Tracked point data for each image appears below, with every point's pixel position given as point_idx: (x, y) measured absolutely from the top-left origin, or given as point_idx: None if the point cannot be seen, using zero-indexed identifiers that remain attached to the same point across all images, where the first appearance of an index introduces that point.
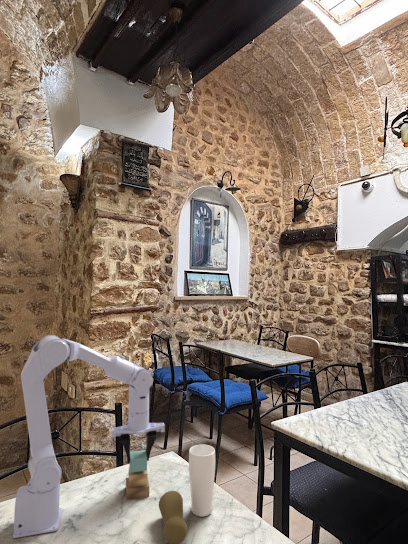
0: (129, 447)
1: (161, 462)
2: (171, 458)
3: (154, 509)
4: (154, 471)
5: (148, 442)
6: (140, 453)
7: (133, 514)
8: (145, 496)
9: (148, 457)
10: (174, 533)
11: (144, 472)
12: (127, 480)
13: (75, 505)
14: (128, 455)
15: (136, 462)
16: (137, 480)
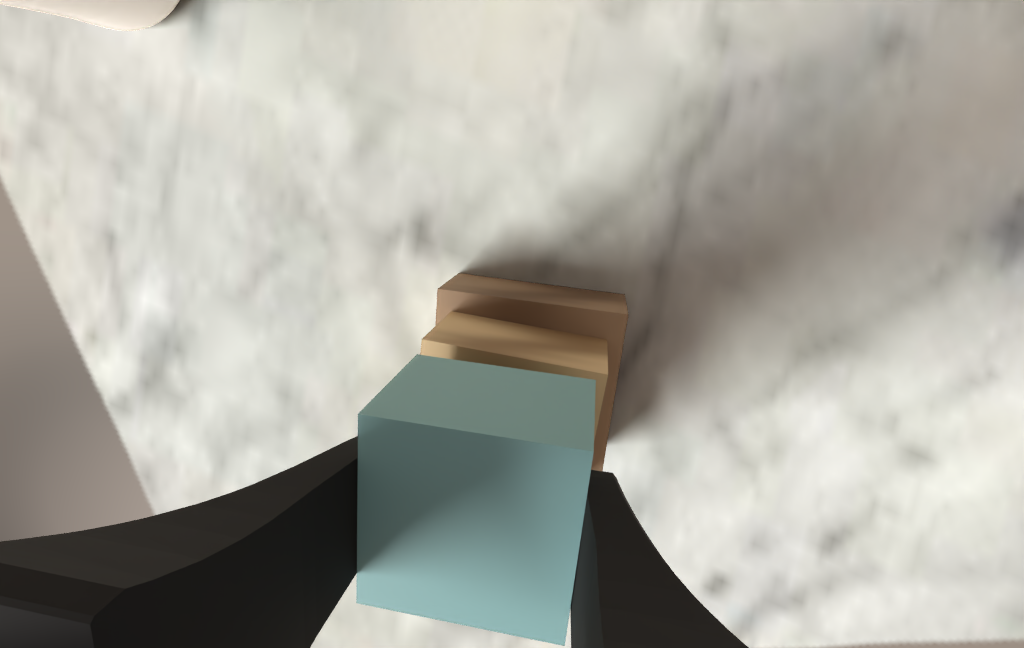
0: (608, 595)
1: None
2: None
3: (450, 98)
4: None
5: (204, 551)
6: (430, 545)
7: (612, 93)
8: (485, 277)
9: (347, 444)
10: None
11: None
12: (595, 443)
13: (1016, 379)
14: (614, 519)
15: (513, 412)
16: (526, 341)
